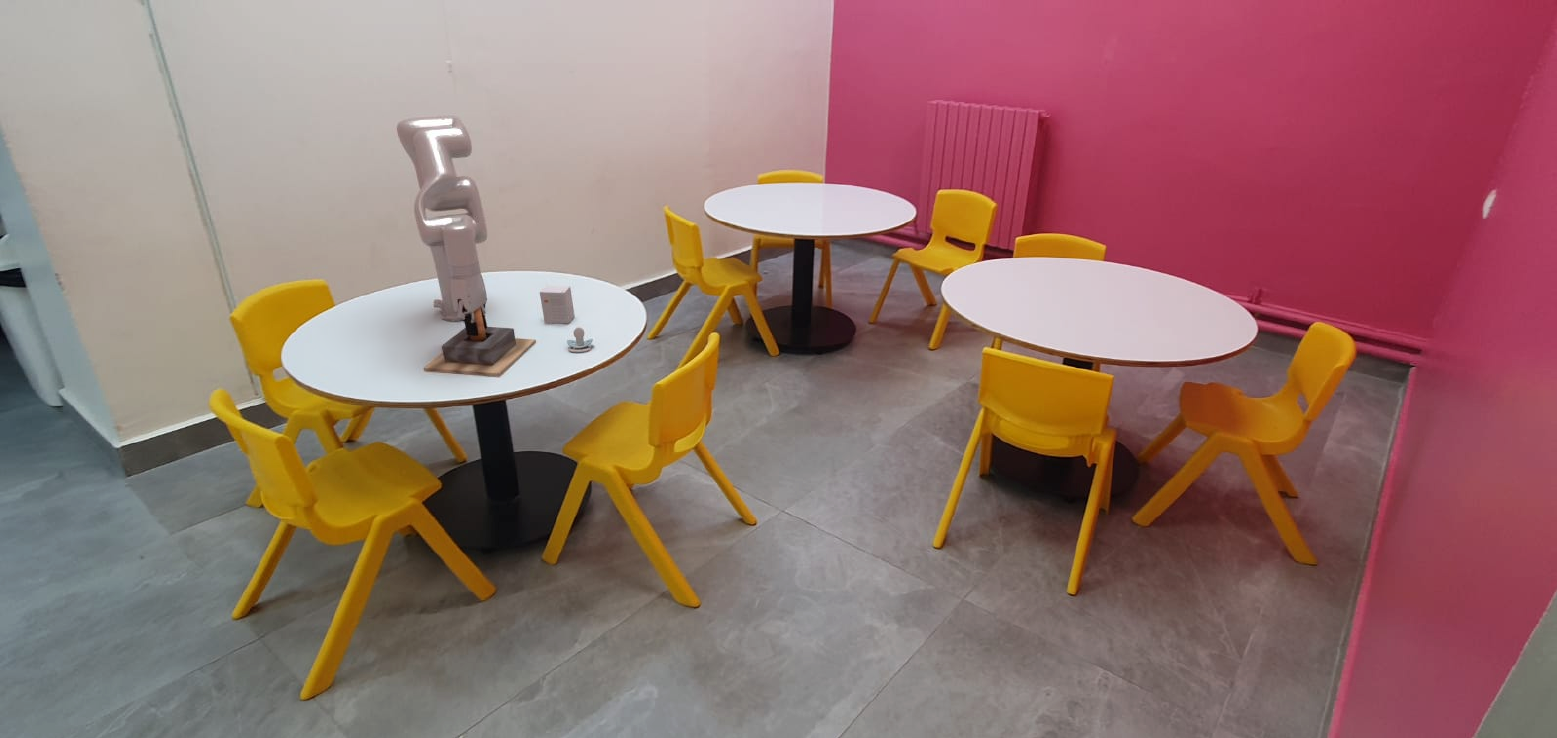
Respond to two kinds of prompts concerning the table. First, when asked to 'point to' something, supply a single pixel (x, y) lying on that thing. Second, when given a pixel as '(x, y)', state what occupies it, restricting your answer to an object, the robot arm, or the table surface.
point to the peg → (478, 326)
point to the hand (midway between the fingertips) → (477, 331)
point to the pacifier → (579, 342)
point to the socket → (481, 353)
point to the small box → (557, 304)
